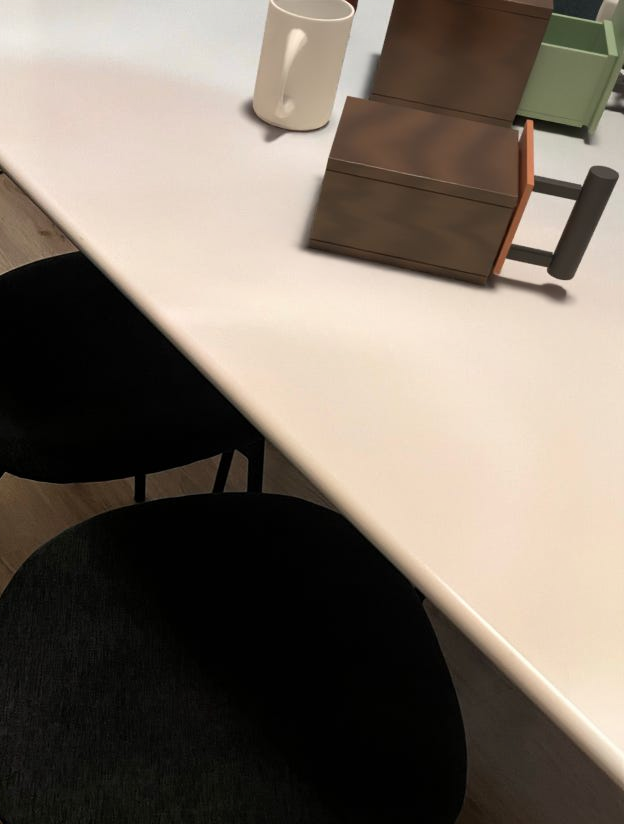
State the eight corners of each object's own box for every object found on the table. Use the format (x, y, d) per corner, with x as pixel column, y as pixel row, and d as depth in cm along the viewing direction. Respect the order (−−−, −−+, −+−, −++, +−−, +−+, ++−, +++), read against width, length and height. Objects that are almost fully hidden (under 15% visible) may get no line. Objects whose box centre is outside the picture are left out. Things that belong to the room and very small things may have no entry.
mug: (231, 131, 106) (249, 17, 98) (264, 91, 113) (283, -18, 105) (310, 152, 104) (335, 38, 96) (338, 110, 112) (363, 1, 104)
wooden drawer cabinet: (511, 83, 122) (551, -31, 113) (510, 129, 113) (553, 8, 104) (380, 57, 124) (409, -58, 115) (369, 100, 115) (399, -21, 106)
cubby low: (488, 214, 99) (519, 130, 93) (484, 285, 90) (518, 197, 84) (327, 180, 101) (347, 95, 95) (307, 247, 92) (328, 157, 86)
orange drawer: (568, 220, 98) (611, 118, 91) (572, 290, 89) (620, 184, 82) (343, 173, 100) (368, 70, 92) (326, 237, 91) (352, 129, 84)
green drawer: (643, 99, 120) (691, -10, 112) (652, 146, 111) (706, 31, 103) (458, 63, 122) (492, -48, 113) (453, 106, 113) (490, -10, 105)
